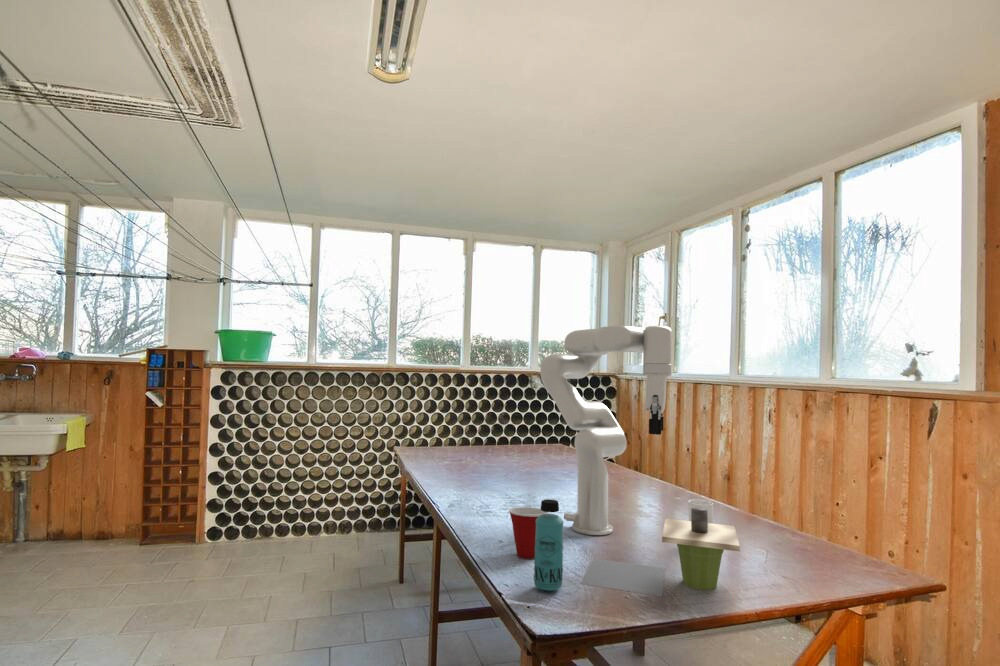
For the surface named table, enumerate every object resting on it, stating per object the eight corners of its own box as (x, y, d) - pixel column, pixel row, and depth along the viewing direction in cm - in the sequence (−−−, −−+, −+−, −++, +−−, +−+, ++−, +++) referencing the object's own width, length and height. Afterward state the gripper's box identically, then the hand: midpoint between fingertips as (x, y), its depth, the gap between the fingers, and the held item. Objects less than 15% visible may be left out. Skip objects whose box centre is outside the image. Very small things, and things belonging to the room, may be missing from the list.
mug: (711, 549, 148) (710, 506, 149) (686, 545, 152) (686, 502, 153) (716, 540, 157) (716, 499, 158) (693, 536, 161) (692, 496, 161)
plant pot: (723, 601, 115) (722, 548, 116) (667, 588, 121) (667, 538, 122) (731, 583, 125) (731, 534, 126) (680, 572, 131) (679, 526, 132)
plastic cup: (552, 551, 145) (553, 506, 145) (542, 564, 134) (543, 516, 135) (514, 546, 148) (515, 502, 149) (502, 559, 138) (503, 512, 139)
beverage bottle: (531, 586, 121) (532, 496, 122) (560, 585, 121) (561, 496, 123) (535, 598, 114) (537, 504, 116) (566, 597, 115) (567, 503, 116)
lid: (662, 541, 119) (662, 513, 120) (665, 523, 134) (665, 498, 135) (739, 551, 114) (739, 521, 114) (734, 531, 129) (734, 505, 129)
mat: (580, 585, 121) (580, 583, 121) (593, 560, 138) (593, 558, 138) (662, 598, 115) (662, 596, 115) (665, 570, 132) (665, 568, 132)
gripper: (645, 369, 157) (645, 428, 156) (640, 370, 141) (639, 434, 140) (672, 370, 154) (671, 429, 153) (669, 370, 138) (669, 437, 137)
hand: (656, 432), depth 147 cm, fingers open, 9 cm apart
